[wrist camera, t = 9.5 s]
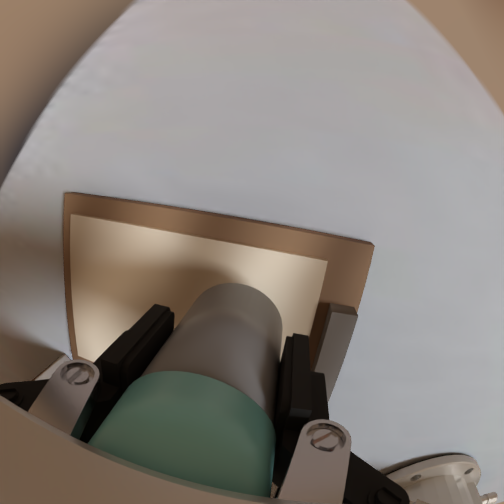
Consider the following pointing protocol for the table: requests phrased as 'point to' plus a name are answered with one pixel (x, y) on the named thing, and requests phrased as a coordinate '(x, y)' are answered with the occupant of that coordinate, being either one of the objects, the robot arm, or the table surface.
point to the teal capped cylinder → (207, 396)
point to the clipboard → (205, 272)
